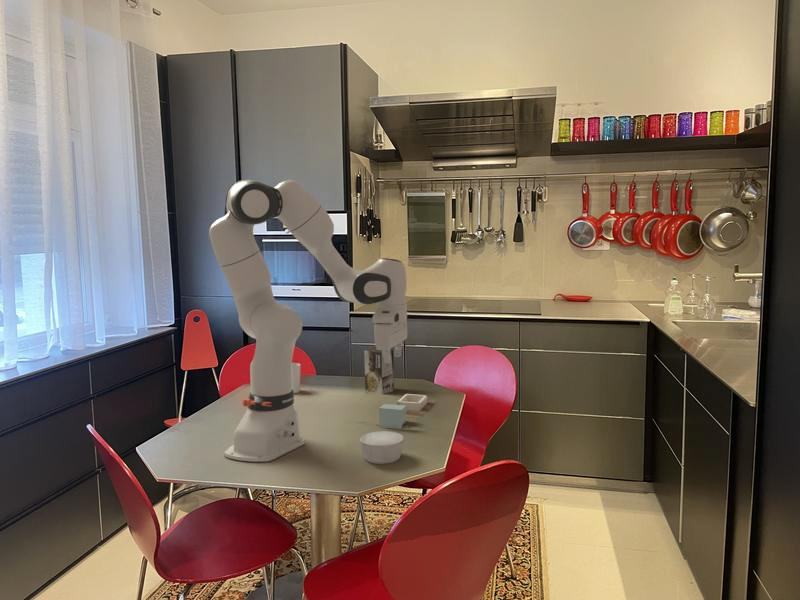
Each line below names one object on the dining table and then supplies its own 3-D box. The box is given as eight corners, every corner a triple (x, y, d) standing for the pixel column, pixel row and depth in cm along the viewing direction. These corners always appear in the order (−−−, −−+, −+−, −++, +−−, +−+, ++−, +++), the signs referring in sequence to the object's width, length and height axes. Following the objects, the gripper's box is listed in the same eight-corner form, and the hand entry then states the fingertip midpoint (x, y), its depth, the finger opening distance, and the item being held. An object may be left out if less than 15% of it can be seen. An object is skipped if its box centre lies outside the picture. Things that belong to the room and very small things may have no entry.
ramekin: (351, 456, 154) (351, 436, 153) (386, 447, 161) (386, 428, 160) (376, 469, 145) (376, 448, 144) (412, 459, 152) (412, 439, 151)
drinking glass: (303, 389, 222) (302, 363, 221) (298, 394, 215) (297, 367, 214) (285, 389, 222) (285, 362, 221) (280, 393, 216) (279, 366, 215)
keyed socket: (419, 411, 189) (419, 403, 189) (397, 409, 191) (397, 401, 191) (427, 402, 198) (427, 395, 198) (405, 401, 201) (405, 393, 200)
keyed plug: (402, 429, 175) (401, 409, 174) (379, 427, 177) (379, 408, 176) (406, 425, 179) (406, 405, 178) (384, 423, 181) (384, 403, 181)
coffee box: (394, 394, 214) (394, 349, 213) (382, 397, 210) (381, 352, 208) (376, 389, 220) (376, 346, 219) (364, 393, 216) (363, 349, 214)
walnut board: (420, 421, 182) (420, 418, 182) (383, 418, 185) (383, 414, 185) (436, 404, 201) (436, 400, 201) (402, 401, 204) (402, 398, 204)
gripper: (392, 308, 185) (393, 352, 187) (370, 317, 166) (371, 366, 167) (412, 309, 183) (412, 353, 185) (391, 318, 164) (392, 367, 165)
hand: (392, 359), depth 176 cm, fingers open, 8 cm apart
